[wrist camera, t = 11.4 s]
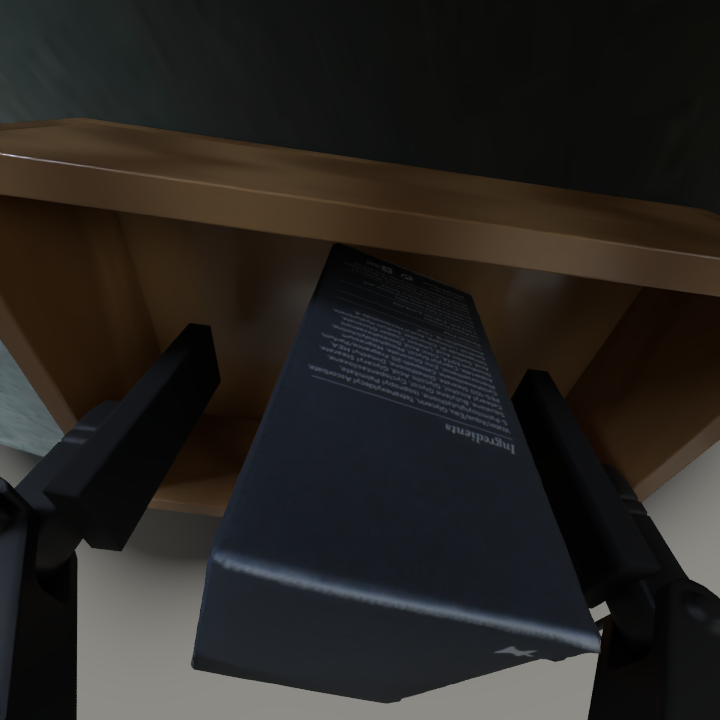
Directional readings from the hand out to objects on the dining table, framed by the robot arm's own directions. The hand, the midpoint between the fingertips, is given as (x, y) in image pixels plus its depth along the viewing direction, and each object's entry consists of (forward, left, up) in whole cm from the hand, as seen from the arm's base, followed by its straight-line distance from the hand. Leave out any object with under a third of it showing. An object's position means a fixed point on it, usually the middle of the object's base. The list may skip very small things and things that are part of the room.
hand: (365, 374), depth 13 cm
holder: (0, 0, -3) cm, 3 cm away
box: (0, 0, -2) cm, 2 cm away
